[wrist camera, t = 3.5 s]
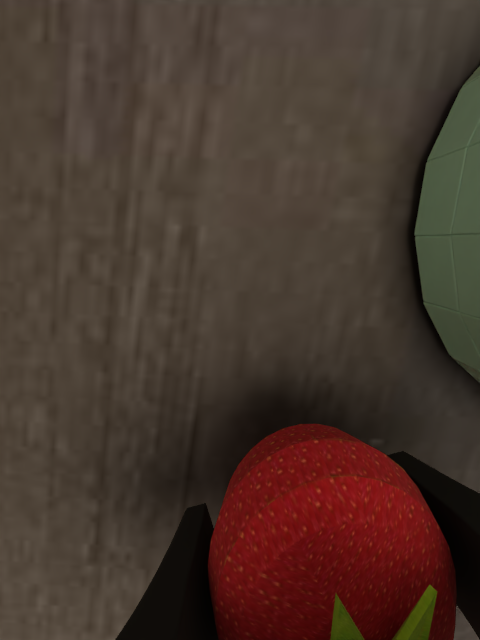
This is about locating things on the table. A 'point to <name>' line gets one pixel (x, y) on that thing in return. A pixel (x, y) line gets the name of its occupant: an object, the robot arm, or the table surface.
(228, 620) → the strawberry
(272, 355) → the table surface
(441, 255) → the mint green dish
